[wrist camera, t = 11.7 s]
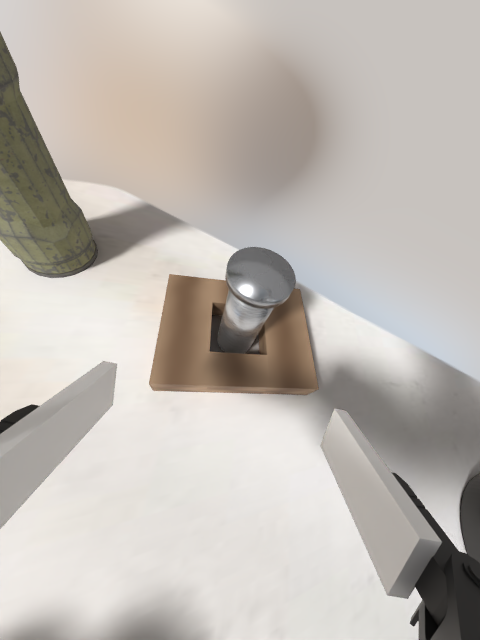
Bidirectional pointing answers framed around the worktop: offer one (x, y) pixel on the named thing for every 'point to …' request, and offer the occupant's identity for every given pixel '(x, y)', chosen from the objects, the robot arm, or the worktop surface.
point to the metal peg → (252, 295)
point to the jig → (229, 368)
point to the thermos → (35, 191)
